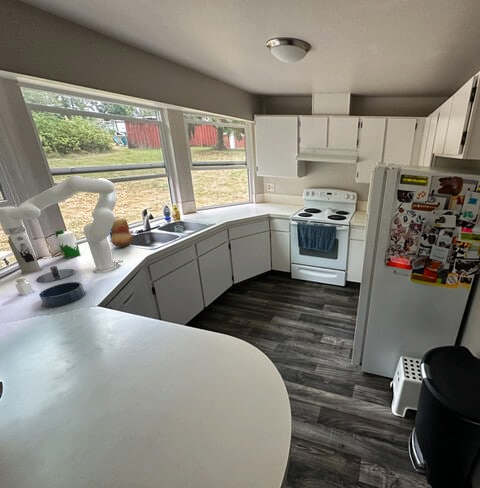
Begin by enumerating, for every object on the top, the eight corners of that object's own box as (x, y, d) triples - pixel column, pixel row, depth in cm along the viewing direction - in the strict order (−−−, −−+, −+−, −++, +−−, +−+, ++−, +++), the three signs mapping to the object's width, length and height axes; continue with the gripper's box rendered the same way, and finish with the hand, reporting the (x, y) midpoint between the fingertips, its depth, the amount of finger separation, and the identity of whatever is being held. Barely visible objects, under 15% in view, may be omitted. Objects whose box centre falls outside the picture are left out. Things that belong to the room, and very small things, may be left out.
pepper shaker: (28, 291, 139) (21, 276, 136) (34, 291, 139) (27, 276, 136) (19, 295, 135) (11, 279, 132) (25, 295, 135) (18, 280, 132)
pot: (80, 288, 143) (77, 279, 141) (88, 297, 135) (85, 287, 133) (41, 300, 132) (36, 290, 129) (47, 311, 123) (42, 300, 121)
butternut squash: (117, 250, 196) (108, 220, 187) (110, 247, 202) (101, 217, 194) (137, 245, 207) (130, 216, 198) (130, 242, 213) (123, 214, 205)
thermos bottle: (37, 267, 166) (20, 227, 156) (43, 270, 163) (26, 229, 153) (20, 272, 159) (1, 231, 149) (25, 275, 156) (6, 233, 146)
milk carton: (62, 256, 184) (52, 230, 177) (78, 252, 191) (69, 227, 184) (66, 259, 179) (56, 232, 172) (82, 255, 186) (73, 229, 179)
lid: (71, 268, 166) (68, 259, 164) (78, 275, 157) (75, 266, 155) (34, 277, 154) (30, 267, 151) (40, 286, 145) (35, 275, 142)
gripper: (28, 231, 131) (41, 260, 137) (22, 225, 140) (35, 253, 146) (6, 235, 125) (21, 265, 131) (1, 228, 134) (15, 257, 140)
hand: (28, 259), depth 138 cm, fingers open, 9 cm apart
